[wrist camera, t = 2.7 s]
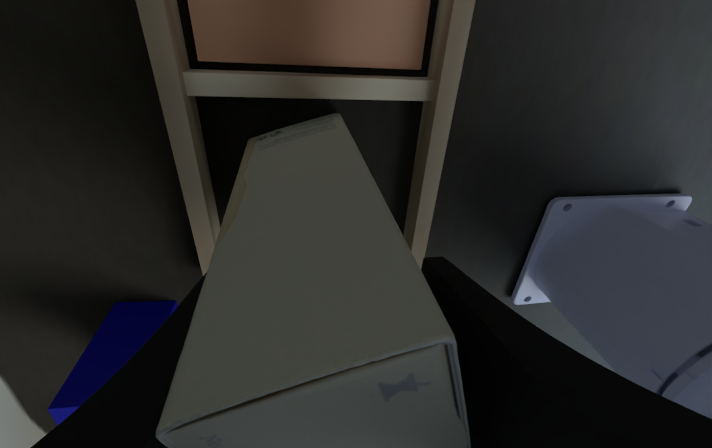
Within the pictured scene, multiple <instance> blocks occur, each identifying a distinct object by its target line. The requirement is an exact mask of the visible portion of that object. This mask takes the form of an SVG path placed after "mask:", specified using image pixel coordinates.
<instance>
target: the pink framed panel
mask: <svg viewBox="0 0 712 448" xmlns="http://www.w3.org/2000/svg"><path fill="white" fill-rule="evenodd" d="M135 1H136V5H137V9H138V13H139V17H140V21H141V25H142V29H143V33H144V37H145V41H146V45H147V49H148V54H149V58H150V62H151V66H152V70H153V74H154V78H155V82H156V86H157V90H158V94H159V98H160V103H161V107H162V111H163V115H164V119H165V123H166V127H167V131H168V135H169V139H170V143H171V147H172V151H173V156H174V160H175V164H176V168H177V172H178V176H179V180H180V184H181V188H182V192H183V196H184V200H185V205H186V209H187V213H188V217H189V221H190V225H191V229H192V233H193V237H194V241H195V245H196V249H197V253H198V258H199V262H200V266H201V270H202V274H203V276H204V274H205V273H206V272H207V271H208V267H209V264H210V260H211V257H212V254H213V251H214V248H215V245H216V241H217V238H218V235H219V232H220V224H219V218H218V213H217V208H216V203H215V198H214V192H213V187H212V182H211V177H210V171H209V166H208V161H207V156H206V150H205V145H204V140H203V135H202V130H201V124H200V119H199V114H198V109H197V103H196V98H195V96H221V97H265V98H309V99H354V100H398V101H423V108H422V114H421V121H420V128H419V134H418V141H417V148H416V154H415V161H414V168H413V174H412V181H411V188H410V194H409V201H408V208H407V214H406V221H405V228H404V234H403V237H404V239H405V241H406V243H407V245H408V247H409V249H410V250H411V252H412V254H413V256H414V258H415V260H416V262H417V264H418V266H419V268H420V270H421V267H422V262H423V258H425V253H426V248H427V243H428V237H429V232H430V227H431V222H432V217H433V212H434V207H435V202H436V197H437V192H438V187H439V182H440V177H441V172H442V167H443V162H444V157H445V152H446V147H447V142H448V137H449V132H450V127H451V122H452V116H453V111H454V106H455V101H456V96H457V91H458V86H459V81H460V76H461V71H462V66H463V61H464V56H465V51H466V46H467V41H468V36H469V31H470V26H471V21H472V16H473V11H474V6H475V0H439V1H438V8H437V15H436V21H435V28H434V35H433V41H432V48H431V55H430V61H429V68H428V74H427V77H408V76H379V75H351V74H322V73H294V72H265V71H237V70H208V69H190V67H189V62H188V56H187V51H186V46H185V41H184V35H183V30H182V25H181V20H180V14H179V9H178V4H177V0H135ZM187 1H188V7H189V12H190V18H191V24H192V29H193V35H194V40H195V46H196V52H197V57H198V61H207V62H233V63H259V64H285V65H310V66H336V67H362V68H388V69H413V70H421V65H422V58H423V51H424V44H425V37H426V29H427V22H428V15H429V8H430V1H431V0H187Z"/></svg>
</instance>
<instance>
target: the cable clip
mask: <svg viewBox="0 0 712 448" xmlns="http://www.w3.org/2000/svg"><path fill="white" fill-rule="evenodd" d="M176 308H177V303H176V301H150V302H116V303H115V304H114V306H113V307H112V309H111V310H110V312H109V314H108V315H107V317H106V318H105V320H104V321H103V323H102V324H101V326H100V328H99V329H98V331H97V332H96V334H95V335H94V337H93V339H92V340H91V342H90V343H89V345H88V346H87V348H86V350H85V351H84V353H83V354H82V356H81V357H80V359H79V361H78V362H77V364H76V365H75V367H74V368H73V370H72V372H71V373H70V375H69V376H68V378H67V379H66V381H65V383H64V384H63V386H62V387H61V389H60V390H59V392H58V394H57V395H56V397H55V398H54V400H53V401H52V403H51V405H50V406H49V408H48V411H49V412H50V414H51V415H52V417H53V418H54V420H55V422H56V423H57V425H59V424H60V423H61V422H62V421H64V420H65V419H66V418H67V417H68V416H69V415H71V414H72V413H73V412H74V411H75V410H76V409H77V408H79V407H80V406H81V405H82V404H83V403H84V402H85V401H86V400H87V399H88V398H90V397H91V396H92V395H93V394H94V393H95V392H96V391H97V390H98V389H99V388H100V387H102V386H103V385H104V384H105V383H106V382H107V381H108V380H109V379H110V378H111V377H112V376H113V375H114V374H115V373H116V372H117V371H118V370H119V369H120V368H121V367H122V366H123V365H124V364H125V363H126V362H127V361H128V360H129V359H130V358H131V357H132V356H133V355H134V354H135V353H136V352H137V351H138V350H139V349H140V348H141V347H142V346H143V345H144V344H145V343H146V341H147V340H148V339H149V338H150V337H151V336H152V335H153V334H154V333H155V332H156V331H157V330H158V329H159V327H160V326H161V325H162V324H163V323H164V322H165V321H166V319H167V318H168V317H169V316H170V315H171V314H172V313H173V312H174V310H175V309H176Z"/></svg>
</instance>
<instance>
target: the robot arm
mask: <svg viewBox="0 0 712 448" xmlns="http://www.w3.org/2000/svg"><path fill="white" fill-rule="evenodd" d="M691 201H692V197H691V196H689V195H687V194H684V193H679V194H645V195H612V196H578V197H557V198H554V199H552V200H551V201H550V202H549V204H548V206H547V208H546V211H545V213H544V216H543V218H542V221H541V223H540V226H539V228H538V231H537V233H536V236H535V238H534V241H533V243H532V246H531V248H530V251H529V253H528V256H527V258H526V261H525V263H524V266H523V268H522V271H521V273H520V276H519V279H518V281H517V284H516V286H515V289H514V291H513V294H512V296H511V300H512V301H513V303H514V304H517V305H520V304H531V303H543V302H552V303H553V304H554V305H555V306H556V307H557V309H558V310H559V311H560V312H561V313H562V314H563V315H564V316H565V317H566V318H567V319H568V321H569V322H570V323H571V324H572V325H573V326H574V327H575V328H576V329H577V330H578V331H579V332H580V334H581V335H582V336H583V337H584V338H585V339H586V340H587V341H588V342H589V343H590V344H591V345H592V347H593V348H594V349H595V350H596V351H597V352H598V353H599V354H600V355H601V356H602V357H603V358H604V360H605V361H606V362H607V363H608V364H609V365H610V366H611V367H612V368H613V369H614V370H615V372H616V373H615V372H613V371H611V370H609V369H607V368H605V367H603V366H602V365H600V364H598V363H596V362H594V361H592V360H591V359H589V358H587V357H585V356H584V355H582V354H580V353H578V352H577V351H575V350H573V349H572V348H570V347H568V346H567V345H565V344H563V343H562V342H560V341H558V340H557V339H555V338H553V337H552V336H550V335H549V334H547V333H546V332H544V331H542V330H541V329H539V328H538V327H536V326H535V325H533V324H532V323H531V322H529V321H528V320H526V319H525V318H523V317H522V316H520V315H519V314H517V313H516V312H515V311H513V310H512V309H510V308H509V307H508V306H506V305H505V304H504V303H502V302H501V301H500V300H498V299H497V298H496V297H494V296H493V295H492V294H490V293H489V292H488V291H486V290H485V289H484V288H482V287H481V286H480V285H479V284H477V283H476V282H475V281H473V280H472V279H471V278H470V277H468V276H467V275H466V274H465V273H463V272H462V271H461V270H460V269H458V268H457V267H456V266H454V265H453V264H452V263H450V262H449V261H448V260H446V259H445V258H444V257H428V258H423V262H422V267H421V271H422V273H423V275H424V277H425V279H426V281H427V283H428V285H429V287H430V289H431V291H432V293H433V295H434V297H435V299H436V301H437V303H438V305H439V307H440V309H441V311H442V313H443V315H444V317H445V319H446V320H447V322H448V324H449V326H450V328H451V330H452V332H453V334H454V336H455V340H456V343H457V353H458V361H459V366H460V372H461V378H462V385H463V392H464V399H465V404H466V412H467V420H468V427H469V433H470V444H471V448H712V224H710V223H708V222H705V221H703V220H701V219H699V218H697V217H695V216H693V215H691V214H689V213H687V212H685V211H686V209H687V208H688V206H689V205H690V203H691ZM566 204H567V205H566ZM565 205H566V206H565ZM564 206H565V207H564ZM206 274H207V272H206V273H205V274H204V276H203V277H202V278H201V279H200V280H199V282H198V283H197V284H196V285H195V286H194V288H193V289H192V290H191V291H190V293H189V294H188V295H187V296H186V297H185V299H184V300H183V301H182V302H181V303H180V305H179V306H178V307H177V308H176V309H175V310H174V312H173V313H172V314H171V315H170V316H169V317H168V318H167V319H166V321H165V322H164V323H163V324H162V325H161V326H160V327H159V329H158V330H157V331H156V332H155V333H154V334H153V335H152V336H151V337H150V338H149V339H148V340H147V341H146V343H145V344H144V345H143V346H142V347H141V348H140V349H139V350H138V351H137V352H136V353H135V354H134V355H133V356H132V357H131V358H130V359H129V360H128V361H127V362H126V363H125V364H124V365H123V366H122V367H121V368H120V369H119V370H118V371H117V372H116V373H115V374H114V375H113V376H112V377H111V378H110V379H109V380H108V381H107V382H106V383H105V384H104V385H103V386H102V387H100V388H99V389H98V390H97V391H96V392H95V393H94V394H93V395H92V396H91V397H90V398H88V399H87V400H86V401H85V402H84V403H83V404H82V405H81V406H80V407H79V408H77V409H76V410H75V411H74V412H73V413H72V414H71V415H69V416H68V417H67V418H66V419H65V420H64V421H62V422H61V423H60V424H59V425H58V426H57V427H55V428H54V429H53V430H52V431H50V432H49V433H48V434H47V435H46V436H44V437H43V438H42V439H41V440H40V441H38V442H37V443H36V444H35V445H34V446H32V447H31V448H168V447H166V446H165V445H164V444H162V443H161V442H160V441H159V440H158V439H157V438H156V430H157V427H158V424H159V421H160V418H161V415H162V412H163V409H164V406H165V403H166V399H167V396H168V393H169V390H170V387H171V384H172V380H173V377H174V374H175V371H176V367H177V364H178V361H179V359H180V356H181V353H182V350H183V347H184V343H185V340H186V337H187V334H188V331H189V328H190V324H191V321H192V318H193V314H194V311H195V308H196V305H197V302H198V298H199V295H200V292H201V289H202V286H203V283H204V280H205V277H206Z"/></svg>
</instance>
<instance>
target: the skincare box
mask: <svg viewBox="0 0 712 448" xmlns="http://www.w3.org/2000/svg"><path fill="white" fill-rule="evenodd" d="M156 438H157V439H158V440H159V441H160V442H161V443H162V444H164V445H165V446H166V447H168V448H471V444H470V433H469V427H468V420H467V412H466V404H465V399H464V392H463V385H462V378H461V372H460V366H459V361H458V353H457V343H456V340H455V336H454V334H453V332H452V330H451V328H450V326H449V324H448V322H447V320H446V319H445V317H444V315H443V313H442V311H441V309H440V307H439V305H438V303H437V301H436V299H435V297H434V295H433V293H432V291H431V289H430V287H429V285H428V283H427V281H426V279H425V277H424V275H423V273H422V271H421V270H420V268H419V266H418V264H417V262H416V260H415V258H414V256H413V254H412V252H411V250H410V249H409V247H408V245H407V243H406V241H405V239H404V237H403V235H402V233H401V231H400V229H399V227H398V225H397V223H396V221H395V219H394V217H393V215H392V213H391V212H390V210H389V208H388V206H387V204H386V202H385V200H384V198H383V196H382V194H381V192H380V190H379V188H378V186H377V184H376V182H375V180H374V178H373V177H372V175H371V173H370V171H369V169H368V167H367V165H366V163H365V161H364V159H363V157H362V155H361V153H360V151H359V149H358V147H357V145H356V143H355V142H354V140H353V138H352V136H351V134H350V132H349V130H348V128H347V126H346V124H345V122H344V120H343V118H342V116H341V115H340V114H339V113H333V114H330V115H326V116H322V117H319V118H315V119H311V120H308V121H304V122H301V123H297V124H294V125H291V126H287V127H284V128H281V129H277V130H274V131H271V132H268V133H265V134H262V135H259V136H256V137H253V138H251V139H249V140H248V142H247V146H246V149H245V152H244V155H243V158H242V161H241V164H240V168H239V171H238V174H237V177H236V181H235V184H234V187H233V190H232V193H231V196H230V199H229V202H228V206H227V209H226V212H225V215H224V218H223V222H222V225H221V228H220V232H219V235H218V238H217V241H216V245H215V248H214V251H213V254H212V257H211V260H210V264H209V267H208V271H207V274H206V277H205V280H204V283H203V286H202V289H201V292H200V295H199V298H198V302H197V305H196V308H195V311H194V314H193V318H192V321H191V324H190V328H189V331H188V334H187V337H186V340H185V343H184V347H183V350H182V353H181V356H180V359H179V361H178V364H177V367H176V371H175V374H174V377H173V380H172V384H171V387H170V390H169V393H168V396H167V399H166V403H165V406H164V409H163V412H162V415H161V418H160V421H159V424H158V427H157V430H156Z"/></svg>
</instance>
